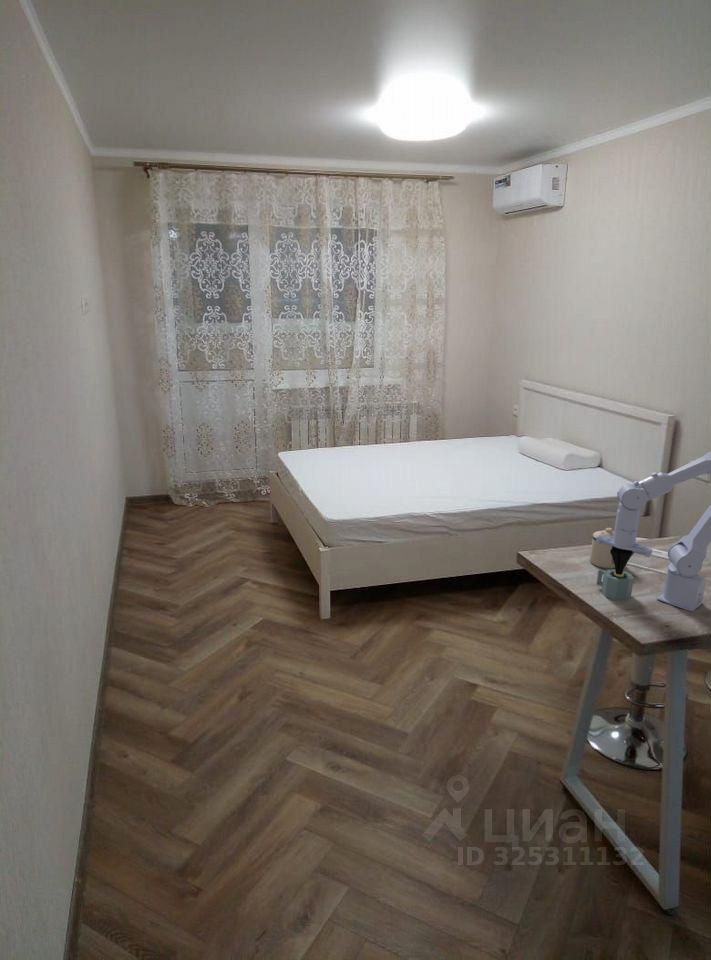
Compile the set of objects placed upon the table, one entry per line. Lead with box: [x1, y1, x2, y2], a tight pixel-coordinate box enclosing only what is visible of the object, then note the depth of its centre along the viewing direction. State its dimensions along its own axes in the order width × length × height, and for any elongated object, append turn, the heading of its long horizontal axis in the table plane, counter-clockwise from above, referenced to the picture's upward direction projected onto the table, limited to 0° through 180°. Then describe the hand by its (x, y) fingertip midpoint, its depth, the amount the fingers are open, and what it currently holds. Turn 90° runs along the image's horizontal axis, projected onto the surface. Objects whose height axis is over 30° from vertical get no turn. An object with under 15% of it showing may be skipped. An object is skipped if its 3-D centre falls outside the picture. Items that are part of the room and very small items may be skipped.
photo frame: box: [626, 546, 671, 576], centre depth 205 cm, size 15×1×18 cm
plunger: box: [614, 572, 624, 579], centre depth 180 cm, size 4×4×5 cm
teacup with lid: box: [589, 527, 615, 569], centre depth 201 cm, size 12×9×12 cm
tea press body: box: [596, 568, 635, 601], centre depth 181 cm, size 9×7×6 cm
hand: (619, 573), depth 179 cm, fingers closed, pressing on plunger
